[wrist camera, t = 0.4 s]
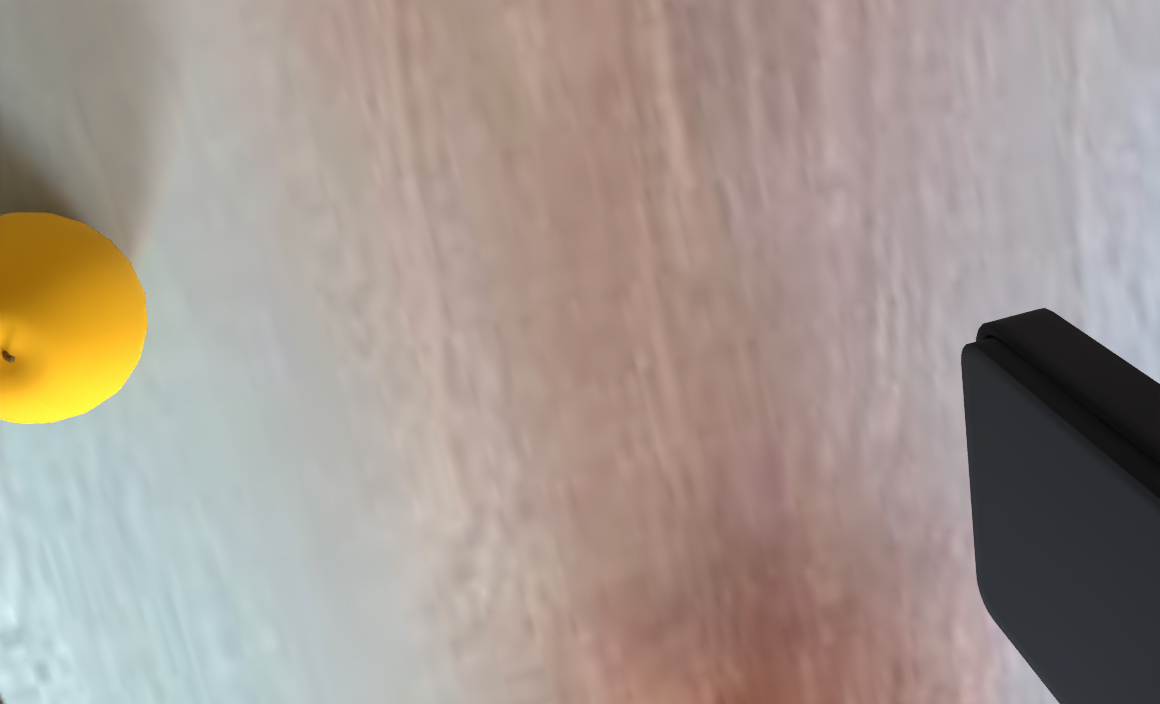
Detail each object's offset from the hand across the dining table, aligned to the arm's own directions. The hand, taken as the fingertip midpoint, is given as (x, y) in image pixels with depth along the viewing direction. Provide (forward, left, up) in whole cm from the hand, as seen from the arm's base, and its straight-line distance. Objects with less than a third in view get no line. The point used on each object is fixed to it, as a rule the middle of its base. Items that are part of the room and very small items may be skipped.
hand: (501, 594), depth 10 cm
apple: (-5, -17, -36) cm, 41 cm away
